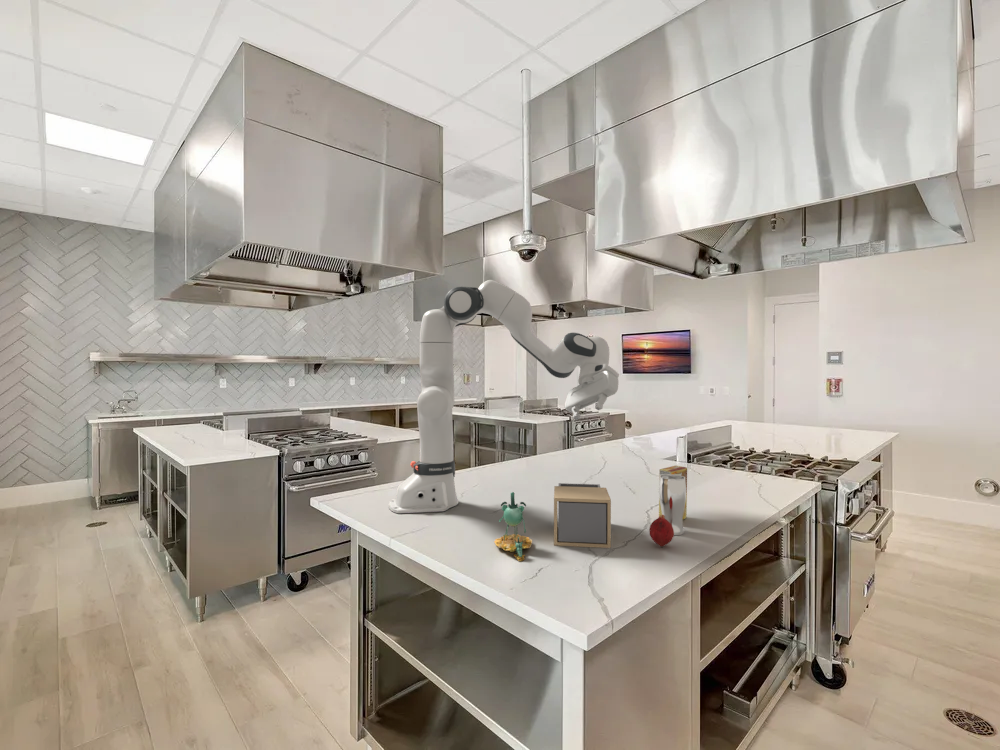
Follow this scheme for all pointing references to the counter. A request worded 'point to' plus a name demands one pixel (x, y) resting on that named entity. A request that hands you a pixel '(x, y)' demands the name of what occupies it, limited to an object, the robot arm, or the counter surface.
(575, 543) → the sleeve
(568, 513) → the grey open box
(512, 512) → the frog figurine
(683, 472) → the candy box
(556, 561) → the counter surface
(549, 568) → the counter surface
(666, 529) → the onion
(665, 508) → the beer glass
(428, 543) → the counter surface
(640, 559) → the counter surface
